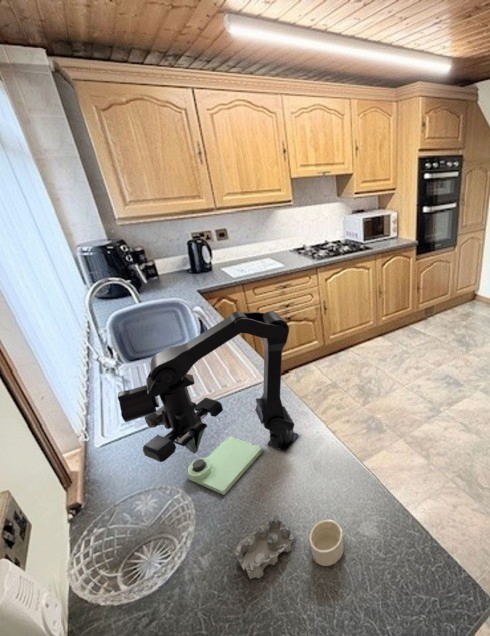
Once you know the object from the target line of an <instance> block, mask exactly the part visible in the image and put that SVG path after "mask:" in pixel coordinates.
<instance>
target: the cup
mask: <svg viewBox="0 0 490 636" xmlns="http://www.w3.org/2000/svg"><path fill="white" fill-rule="evenodd" d="M343 535H344V534H343V530H342V527H341V525H339V523H338V522H337V521H335V520H333V519H323V520H320V521H318V522H317V523H316V524H315V525H313V527H312V529H311V530H310V532H309V538H308V540H309V545H310V551H311V556H312V559H313V560H314V562H315V563H317V564H318V565H320V566H322V567H330V566H332V565H335V564H336V563H337V562H338V561H339V560H340V559H341V558H342V557H343V553H344V546H345V545H344V536H343Z"/></svg>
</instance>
